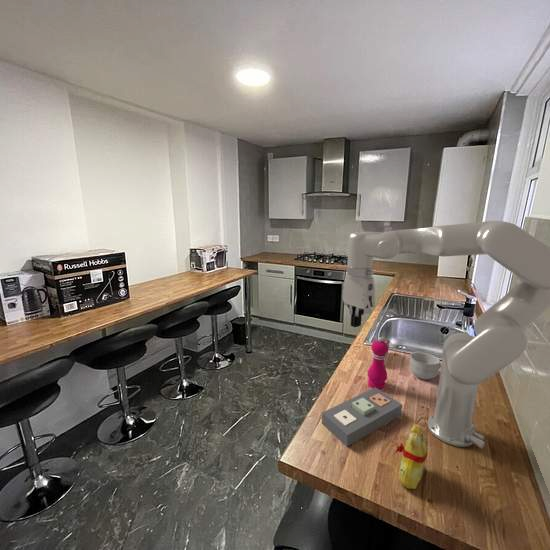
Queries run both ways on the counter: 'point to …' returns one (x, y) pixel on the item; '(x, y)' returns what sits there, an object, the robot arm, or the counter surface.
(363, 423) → the console
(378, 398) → the tile three
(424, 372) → the teacup
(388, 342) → the tin
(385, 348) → the pink bowling pin
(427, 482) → the counter surface
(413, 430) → the chocolate bunny
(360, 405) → the tile two
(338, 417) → the tile one
